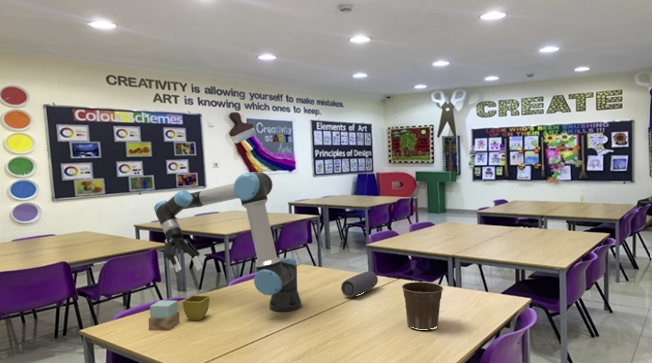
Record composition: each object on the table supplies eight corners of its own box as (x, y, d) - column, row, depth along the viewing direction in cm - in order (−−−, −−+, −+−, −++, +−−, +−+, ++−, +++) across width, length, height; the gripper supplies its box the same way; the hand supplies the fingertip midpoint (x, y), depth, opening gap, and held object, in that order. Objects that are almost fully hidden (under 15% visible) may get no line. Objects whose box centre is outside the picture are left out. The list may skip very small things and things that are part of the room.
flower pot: (201, 322, 192) (200, 301, 191) (182, 321, 194) (182, 301, 193) (210, 315, 200) (209, 295, 200) (192, 314, 202) (192, 295, 202)
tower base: (179, 323, 192) (179, 311, 192) (169, 331, 183) (168, 319, 183) (160, 322, 193) (159, 311, 193) (149, 330, 185) (148, 318, 184)
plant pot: (445, 321, 185) (444, 282, 184) (442, 335, 170) (441, 293, 169) (406, 318, 190) (405, 280, 190) (399, 331, 175) (398, 290, 175)
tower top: (177, 312, 192) (177, 300, 192) (168, 318, 184) (167, 306, 184) (160, 311, 193) (160, 300, 193) (150, 317, 185) (150, 306, 185)
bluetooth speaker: (363, 287, 240) (363, 269, 240) (379, 289, 235) (378, 271, 234) (340, 298, 222) (339, 278, 222) (356, 301, 216) (355, 280, 216)
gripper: (185, 235, 222) (202, 272, 215) (146, 234, 200) (163, 275, 192) (196, 227, 220) (213, 264, 212) (157, 225, 198) (175, 266, 190)
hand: (189, 270), depth 202 cm, fingers open, 13 cm apart
